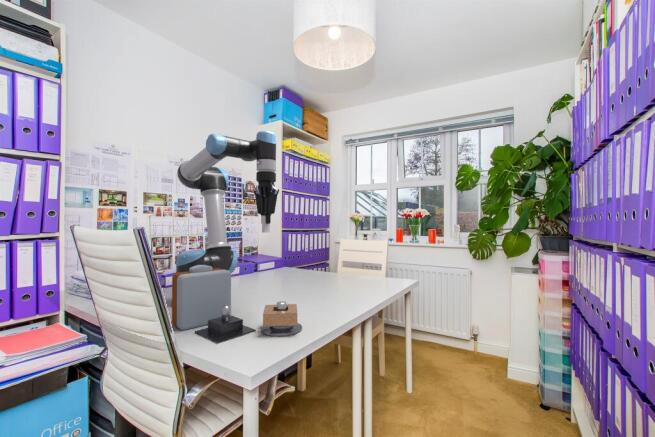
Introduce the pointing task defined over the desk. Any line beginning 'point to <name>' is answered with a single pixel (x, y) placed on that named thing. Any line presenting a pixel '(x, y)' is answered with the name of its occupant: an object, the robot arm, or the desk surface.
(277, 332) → the hub
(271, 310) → the brown square ring block
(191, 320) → the grey rounded upright slab
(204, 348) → the desk surface
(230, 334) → the stand
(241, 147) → the robot arm
